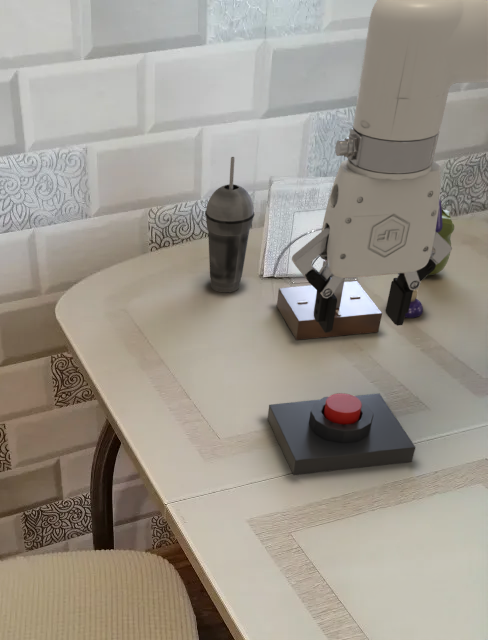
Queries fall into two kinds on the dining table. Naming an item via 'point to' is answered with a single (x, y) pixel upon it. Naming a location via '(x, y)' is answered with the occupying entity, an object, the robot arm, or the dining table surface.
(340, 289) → the grey upright block
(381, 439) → the device
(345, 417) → the power button
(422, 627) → the dining table surface
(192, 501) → the dining table surface
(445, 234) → the pear
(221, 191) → the beverage cup
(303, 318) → the brown wooden base
